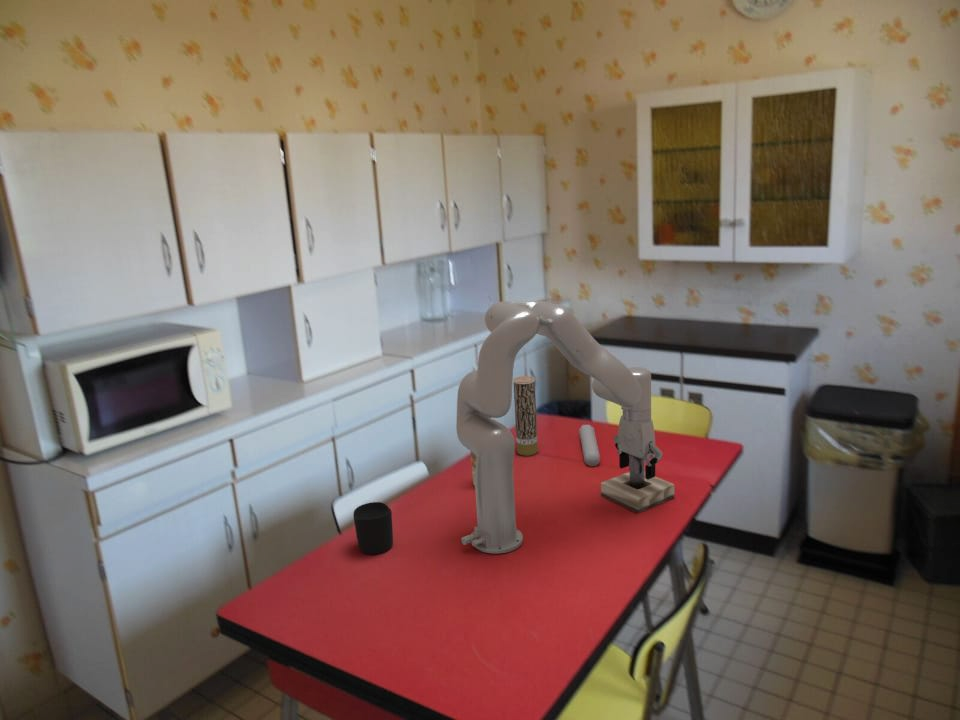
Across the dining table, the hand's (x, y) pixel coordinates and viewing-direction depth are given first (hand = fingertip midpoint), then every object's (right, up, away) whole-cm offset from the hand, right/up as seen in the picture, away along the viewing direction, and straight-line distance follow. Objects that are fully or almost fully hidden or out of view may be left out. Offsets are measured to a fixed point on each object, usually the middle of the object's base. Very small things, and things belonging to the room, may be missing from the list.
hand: (637, 472), depth 198 cm
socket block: (0, -7, +2) cm, 7 cm away
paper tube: (-28, 0, +38) cm, 47 cm away
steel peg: (0, -6, +2) cm, 6 cm away
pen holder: (-69, -16, -16) cm, 73 cm away
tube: (-8, +1, +35) cm, 36 cm away
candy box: (-41, -6, +17) cm, 44 cm away
